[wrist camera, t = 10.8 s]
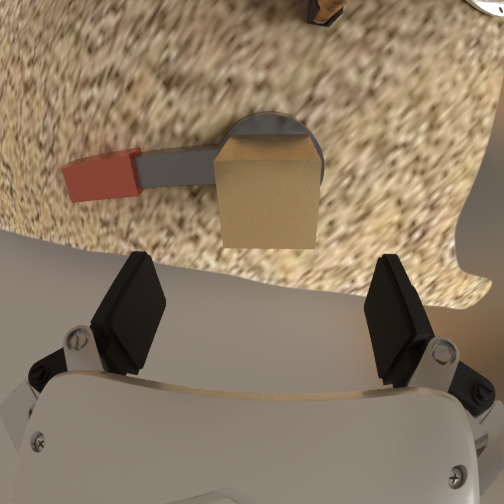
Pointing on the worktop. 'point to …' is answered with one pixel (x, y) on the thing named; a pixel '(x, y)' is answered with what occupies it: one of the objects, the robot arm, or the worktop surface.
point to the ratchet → (166, 163)
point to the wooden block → (268, 191)
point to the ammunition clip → (324, 11)
